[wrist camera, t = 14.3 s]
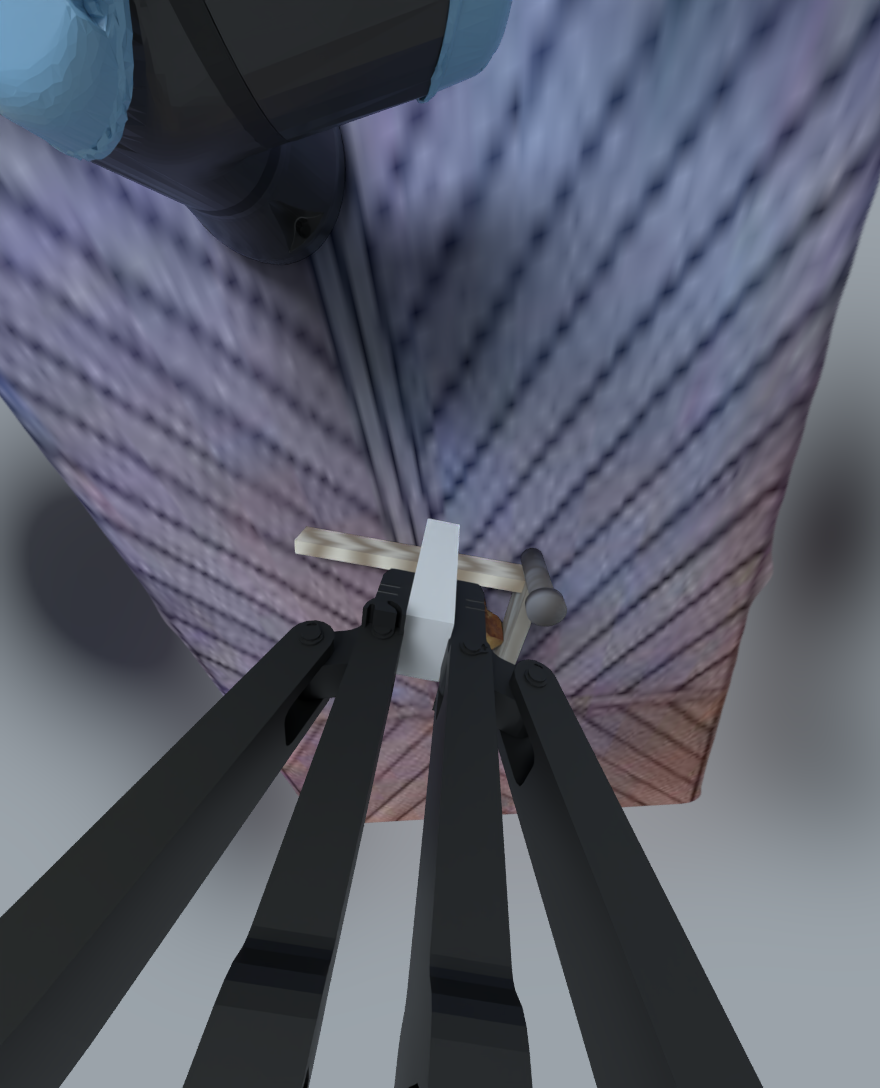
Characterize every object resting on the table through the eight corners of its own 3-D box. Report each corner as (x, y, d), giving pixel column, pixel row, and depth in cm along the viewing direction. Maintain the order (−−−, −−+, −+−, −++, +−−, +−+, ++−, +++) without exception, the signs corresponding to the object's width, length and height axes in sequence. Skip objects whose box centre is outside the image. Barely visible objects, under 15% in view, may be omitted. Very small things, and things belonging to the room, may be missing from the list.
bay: (310, 638, 62) (278, 696, 52) (305, 502, 49) (263, 545, 39) (505, 672, 62) (511, 736, 52) (551, 546, 49) (572, 599, 39)
